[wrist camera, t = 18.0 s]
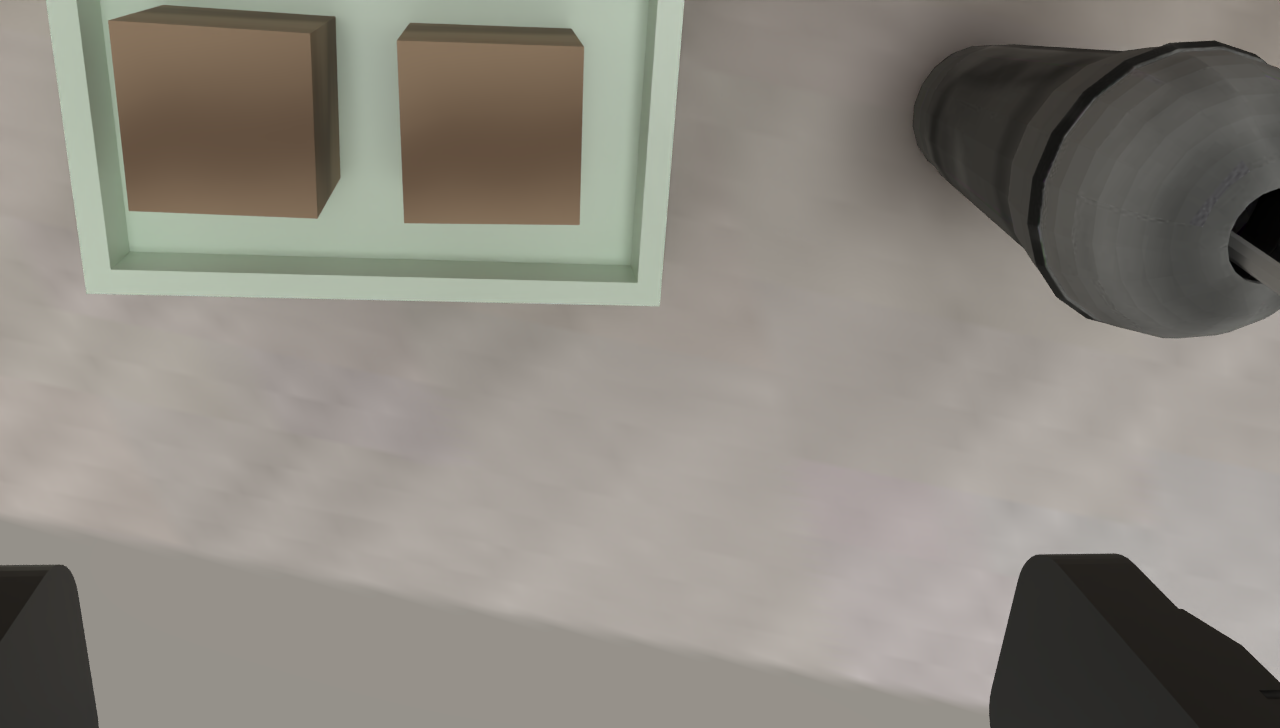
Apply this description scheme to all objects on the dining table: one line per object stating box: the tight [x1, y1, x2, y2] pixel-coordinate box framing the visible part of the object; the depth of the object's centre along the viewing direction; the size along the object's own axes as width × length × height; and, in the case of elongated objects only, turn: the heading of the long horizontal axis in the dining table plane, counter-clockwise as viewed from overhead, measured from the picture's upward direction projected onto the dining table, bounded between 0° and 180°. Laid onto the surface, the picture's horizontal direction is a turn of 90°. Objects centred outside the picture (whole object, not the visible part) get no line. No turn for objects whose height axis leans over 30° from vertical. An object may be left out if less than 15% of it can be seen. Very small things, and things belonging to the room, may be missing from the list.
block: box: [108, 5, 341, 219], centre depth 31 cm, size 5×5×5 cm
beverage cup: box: [913, 41, 1280, 338], centre depth 28 cm, size 7×7×20 cm
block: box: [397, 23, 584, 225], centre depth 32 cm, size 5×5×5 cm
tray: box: [46, 0, 684, 306], centre depth 33 cm, size 12×18×2 cm, turn 86°
